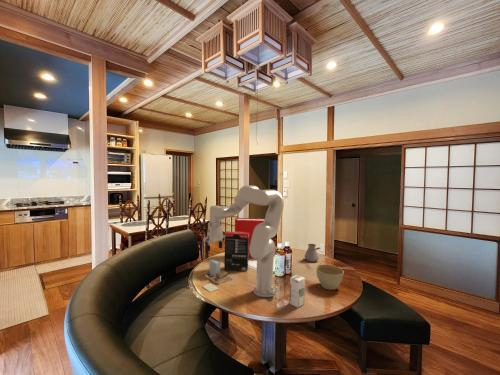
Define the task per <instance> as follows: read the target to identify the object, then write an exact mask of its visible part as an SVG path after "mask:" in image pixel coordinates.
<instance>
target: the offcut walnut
mask: <svg viewBox="0 0 500 375" xmlns="http://www.w3.org/2000/svg"><path fill="white" fill-rule="evenodd" d="M227 276H229V274H228V272H227V271H225V270H222V271H220V272H219V273H217V274H216V278H218V279H223V278H225V277H227Z"/></svg>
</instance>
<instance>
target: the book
mask: <svg viewBox="0 0 500 375" xmlns="http://www.w3.org/2000/svg"><path fill="white" fill-rule="evenodd" d="M264 220H265V218H255V217H254V218H253V217H252V218H247V217H245V218H244V217H236V218H234V232H249V248H250V243H251V239H252V235H253V231H254V229H255V227H256V226H257V225H258V224H260V223H263V222H264ZM248 259H252V256H251V255H250V251H249V250H248Z"/></svg>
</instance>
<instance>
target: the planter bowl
mask: <svg viewBox="0 0 500 375" xmlns="http://www.w3.org/2000/svg"><path fill="white" fill-rule="evenodd" d="M315 268H316V269H315V271H316V277H317V280H318V281H319V283H320V286H321V287H322V288H323V289H325V290H329V291H331V290H332V291H335V290H337V289H338V287H339V286H340V285H341V283H342V282H343V278H344V273H345V271H344V270H343V268H341V267H339V266H335V265H332V264H319V265H316V267H315Z"/></svg>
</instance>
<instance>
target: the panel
mask: <svg viewBox="0 0 500 375" xmlns="http://www.w3.org/2000/svg"><path fill="white" fill-rule="evenodd" d="M208 271H209V274H208V276H210V277H211V278H213V277H216V274H217V273H219V272H221V262H220V261H218V260H216V259H210V260H209V269H208Z"/></svg>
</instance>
